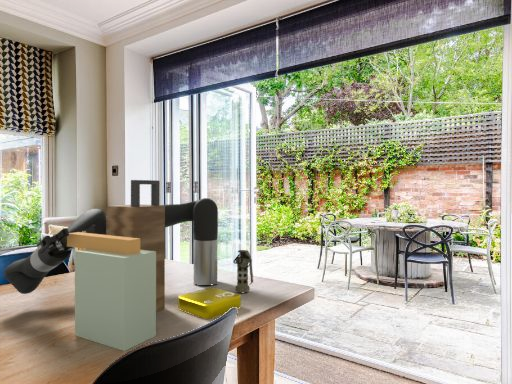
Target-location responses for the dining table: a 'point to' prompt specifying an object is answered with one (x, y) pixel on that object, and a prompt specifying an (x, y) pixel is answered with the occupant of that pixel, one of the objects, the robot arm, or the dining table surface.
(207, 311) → the element tile
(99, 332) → the sage green upright block
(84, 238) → the bar
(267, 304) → the dining table surface
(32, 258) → the robot arm
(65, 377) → the dining table surface
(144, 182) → the dark gray square arch
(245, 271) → the olive stun grenade
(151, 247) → the walnut post
